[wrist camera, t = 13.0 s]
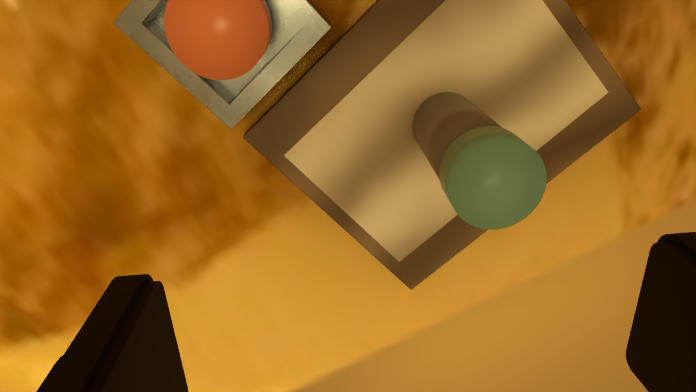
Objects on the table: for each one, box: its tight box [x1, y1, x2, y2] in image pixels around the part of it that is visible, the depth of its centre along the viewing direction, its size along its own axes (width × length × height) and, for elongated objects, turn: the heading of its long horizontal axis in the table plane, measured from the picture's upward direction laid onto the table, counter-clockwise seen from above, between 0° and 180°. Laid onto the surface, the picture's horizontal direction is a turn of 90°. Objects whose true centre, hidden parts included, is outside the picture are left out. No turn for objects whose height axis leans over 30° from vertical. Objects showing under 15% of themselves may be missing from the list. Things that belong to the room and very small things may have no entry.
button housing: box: [114, 0, 331, 129], centre depth 27 cm, size 8×8×3 cm
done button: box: [164, 0, 272, 80], centre depth 25 cm, size 5×5×2 cm
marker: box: [412, 92, 546, 230], centre depth 26 cm, size 4×4×10 cm
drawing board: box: [243, 0, 641, 290], centre depth 31 cm, size 16×19×1 cm
